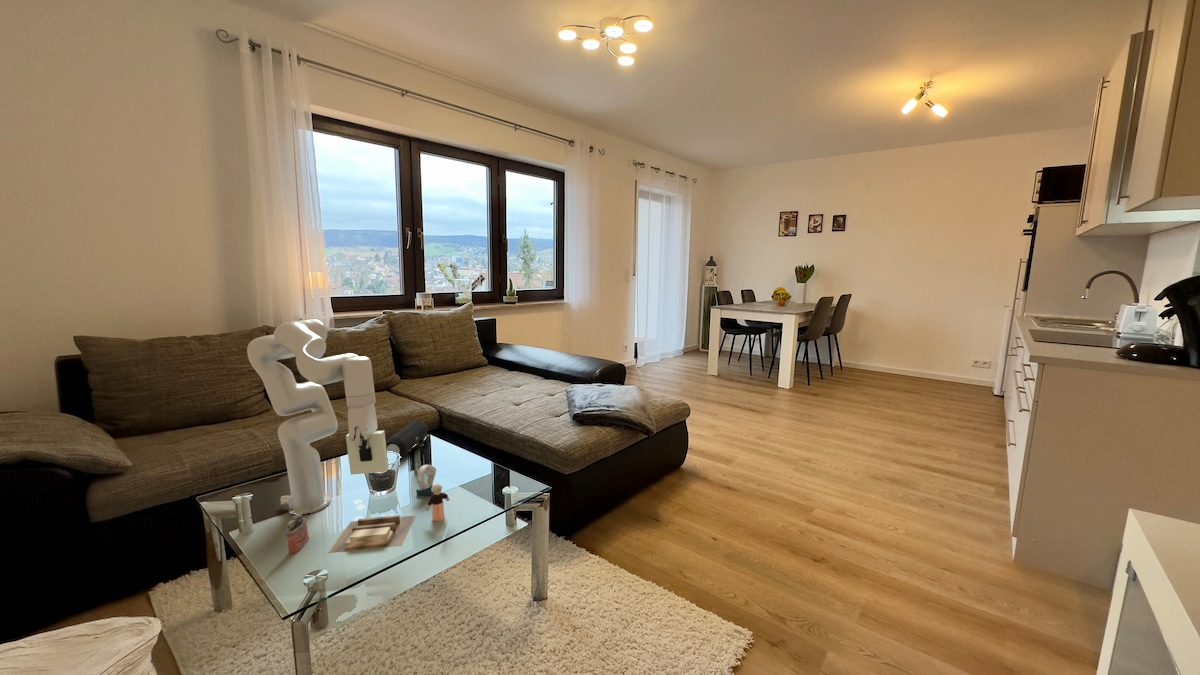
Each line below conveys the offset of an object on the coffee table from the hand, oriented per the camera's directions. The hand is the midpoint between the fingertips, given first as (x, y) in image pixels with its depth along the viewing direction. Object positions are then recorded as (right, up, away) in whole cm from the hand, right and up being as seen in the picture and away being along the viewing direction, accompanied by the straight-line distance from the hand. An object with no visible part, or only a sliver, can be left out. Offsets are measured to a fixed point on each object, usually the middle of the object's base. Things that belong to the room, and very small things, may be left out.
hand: (368, 458), depth 138 cm
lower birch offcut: (+2, -24, -3) cm, 24 cm away
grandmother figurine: (+18, -23, +9) cm, 30 cm away
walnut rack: (+1, -24, +2) cm, 24 cm away
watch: (+8, -20, +26) cm, 34 cm away
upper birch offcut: (+2, -22, -3) cm, 23 cm away
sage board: (0, -4, +1) cm, 4 cm away
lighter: (-18, -26, -3) cm, 32 cm away
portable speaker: (-16, -14, +67) cm, 70 cm away
